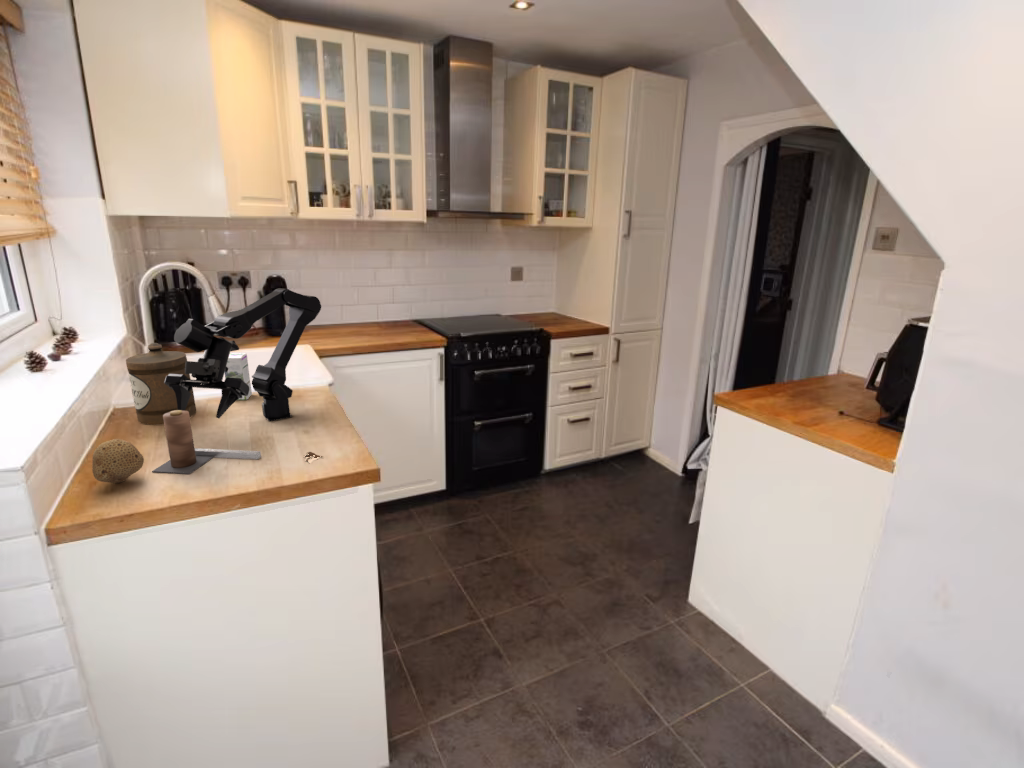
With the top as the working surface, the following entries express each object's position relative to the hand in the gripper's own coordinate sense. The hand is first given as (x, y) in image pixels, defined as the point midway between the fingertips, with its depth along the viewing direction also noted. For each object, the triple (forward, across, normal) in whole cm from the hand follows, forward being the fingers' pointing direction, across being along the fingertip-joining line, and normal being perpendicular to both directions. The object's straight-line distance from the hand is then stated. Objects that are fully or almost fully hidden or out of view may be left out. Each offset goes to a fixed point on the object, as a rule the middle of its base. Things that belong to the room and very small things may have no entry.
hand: (198, 416), depth 133 cm
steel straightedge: (+9, +7, +3) cm, 12 cm away
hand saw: (+5, +22, +7) cm, 24 cm away
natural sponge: (+18, -8, -7) cm, 21 cm away
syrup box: (-19, -10, +38) cm, 44 cm away
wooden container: (-7, -23, +26) cm, 35 cm away
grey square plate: (+12, 0, -1) cm, 12 cm away
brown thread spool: (+12, 0, -1) cm, 12 cm away
